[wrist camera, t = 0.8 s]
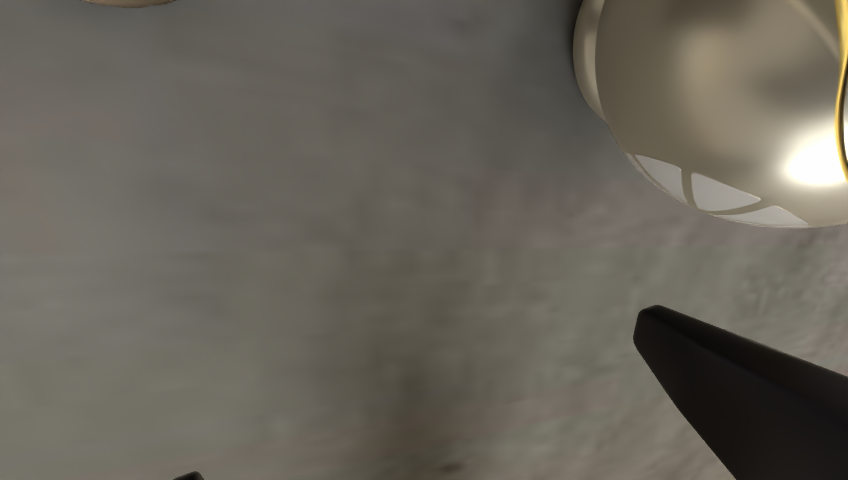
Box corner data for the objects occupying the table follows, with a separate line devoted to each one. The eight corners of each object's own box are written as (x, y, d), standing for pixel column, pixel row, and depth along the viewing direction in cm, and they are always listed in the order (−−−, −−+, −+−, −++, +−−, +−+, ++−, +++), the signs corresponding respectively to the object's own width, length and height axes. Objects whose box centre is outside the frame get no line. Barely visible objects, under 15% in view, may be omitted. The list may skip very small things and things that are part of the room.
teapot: (460, 109, 23) (847, 235, 8) (600, -216, 20) (1571, -878, 5) (699, 222, 31) (1106, 385, 16) (825, 3, 28) (1456, -31, 13)
